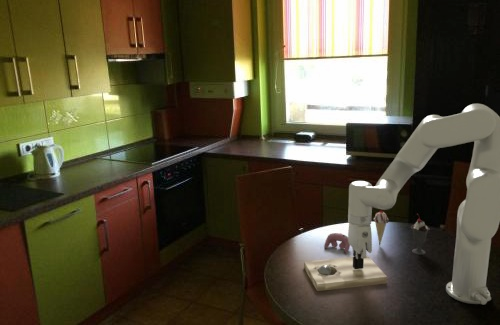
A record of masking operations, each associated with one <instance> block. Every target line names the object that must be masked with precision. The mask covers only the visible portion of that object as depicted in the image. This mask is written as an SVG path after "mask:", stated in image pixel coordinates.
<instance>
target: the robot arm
mask: <svg viewBox="0 0 500 325" xmlns="http://www.w3.org/2000/svg"><path fill="white" fill-rule="evenodd" d="M471 142H474V144H473V149H472V156H471V162H470V165H469V168H468V173H467V176H466V181H465V184H466V189H467V190H466V197H465V199H464V200H463V201H462V202H461V203H460V205H459V206H458V209H457V216H456V217H457V218H456V235H455V236H456V238H455V248H454V256H453V267H452V268H453V269H452V275H451V276H452V278H451V279H452V280H451V281H449V282H448V283H447V284H446V285H445V291H446V293H447V294H448V295H449V296H450V297H451V298H452V299H455V300H457V301H459V302H462V303H466V304H469V305H470V304H471V305H486V304H487V303H488V302H490V301H491V300H492V297H491V293H490V290H488V286H487V277H488V268H489V260H490V253H491V244H492V238H493V237H494V236H495V234H496V233H497V231H498V229H499V225H500V116H499V115H498V113H497V112H495V111H494V110H493V109H491V108H490V107H489V106H487V105H485V104H482V103H472V104H469V105H467V106H466V107H465V108H464V109H463V110H462V111H461V112H460V113H457V114H452V115H448V116H442V115H441V116H440V115H439V114H430V115H427V116H426V117H424V118H423V119H422V120H421V122H420V123H419V124H418V126H417V127H416V128H415V129H414V131H413V132H412V134H411V135H410V137H409V138H408V139H407V141H406V142H404V145H402V148H400V150H399V151H398V153H397V154H396V156H395V157H394V159H393V161H392V162H391V163H390V164H389V165H388V167H387V168H386V170H385V171H384V172H383V173H382V175H381V176H380V178H379V179H378V181H377V182H376V184H375V186H373V185H372V183H370V182H369V181H365V180H355V181H352V182H351V183H349V186H348V212H347V213H348V214H347V219H348V220H347V223H348V234H347V237H348V242H349V244H350V247H351V248H352V257H353V267H354V269H363V264H364V258H367V252H368V253H369V254H371V253H372V252H373V249H372V248H373V238H372V237H373V236H372V234H373V232H372V228H371V227H372V226H371V224H372V213H373V212H372V210H373V208H375V209H378V210H382V211H383V210H384V211H385V210H390V209H392V208H393V207H394V206H395V204H396V202H397V197H398V194H399V192H400V190H402V189H403V187H404V185H405V184H406V183H407V181H408V180H409V179H410V178H411V176H413V175H414V174H416V173H417V172H419V171H421V170H422V169H423V168H424V167H425V166H426V164H427V163H428V161H429V160H430V159H431V158H432V156H433V155H434V154H435V153H436V152H437V150H438V149H440V148H441V149H442V148H447V147H453V146H457V145H462V144H466V143H471Z"/></svg>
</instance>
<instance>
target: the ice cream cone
mask: <svg viewBox="0 0 500 325" xmlns="http://www.w3.org/2000/svg"><path fill="white" fill-rule="evenodd" d="M373 221H374V222H375V228H376V234H377V238H378V240H377V241H378V244H379V247H380V246H381V244H382V239H383V236H384V232H385V230H386V226H387V224H388V223H389V218H388V216H387V213H386V212H384V211H383V210H379V212H376V213H375V216H374V217H373Z"/></svg>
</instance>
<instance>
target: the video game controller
mask: <svg viewBox="0 0 500 325" xmlns="http://www.w3.org/2000/svg"><path fill="white" fill-rule="evenodd" d="M338 242H340V243H339V244H338ZM330 245H331V247H333V248H337V247H338V248H339V249H341V250H344V253H345V254H348V253H349V250H350V247H351V246H350V244H349V242H348V235H346V234H343V233H337V232H335V233H334V232H333V233H330V234H328V235H327V237H326V240H325V242H324V245H323V247H324V249H325V250H327V249H328V248H329V246H330Z"/></svg>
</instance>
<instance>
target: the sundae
mask: <svg viewBox="0 0 500 325" xmlns="http://www.w3.org/2000/svg"><path fill="white" fill-rule="evenodd" d="M416 215H417V216H418V219H417V220H416V222H414V224H411V225H410V228H411V230H412V235H413V241H414V242H415V244H417V247H416V248H414V249H412V250H411V252H412V254H414V255H418V256H424V255H425V254H426V251H425V250H424V249H422V247H421V246H422V244H424V243H425V242H426V239H427V235H428V231H430V230H431V228H430V227H429V226H427V225H426V224H425V221H424V220H421V219H420V218H421V217H420V215H419V213H416Z"/></svg>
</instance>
